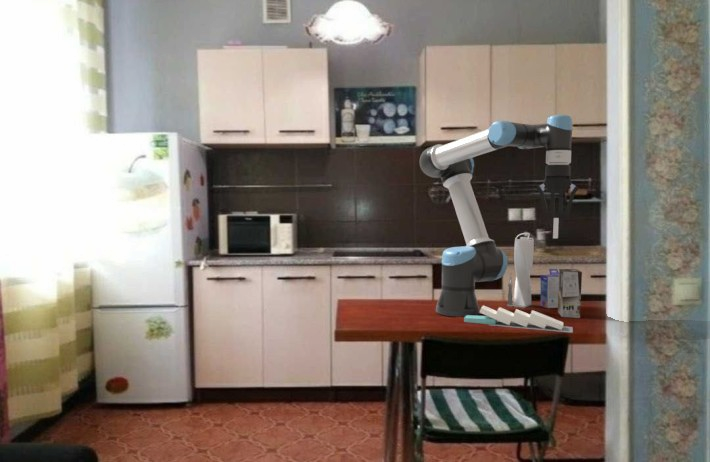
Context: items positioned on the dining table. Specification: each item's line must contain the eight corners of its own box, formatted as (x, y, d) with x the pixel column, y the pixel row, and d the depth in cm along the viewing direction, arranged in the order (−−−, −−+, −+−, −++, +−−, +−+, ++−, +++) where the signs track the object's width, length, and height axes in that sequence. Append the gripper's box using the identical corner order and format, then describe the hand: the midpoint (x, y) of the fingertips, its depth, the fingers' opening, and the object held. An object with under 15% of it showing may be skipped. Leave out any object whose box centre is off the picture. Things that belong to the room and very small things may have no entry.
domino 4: (561, 330, 168) (529, 317, 171) (561, 327, 173) (530, 314, 176) (563, 325, 168) (531, 312, 171) (563, 322, 173) (532, 310, 176)
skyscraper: (515, 302, 217) (517, 232, 216) (535, 305, 212) (537, 233, 210) (506, 305, 211) (508, 233, 209) (527, 308, 205) (529, 234, 204)
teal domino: (495, 324, 175) (464, 322, 179) (497, 321, 180) (466, 319, 184) (495, 319, 175) (463, 318, 179) (497, 316, 180) (466, 315, 183)
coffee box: (581, 318, 189) (582, 271, 188) (561, 317, 190) (562, 271, 189) (575, 313, 198) (577, 268, 197) (557, 312, 199) (558, 268, 198)
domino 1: (509, 325, 174) (479, 312, 177) (510, 322, 178) (481, 309, 182) (511, 320, 174) (481, 307, 177) (512, 317, 178) (483, 305, 181)
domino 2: (526, 327, 172) (495, 314, 175) (527, 324, 177) (497, 311, 180) (528, 322, 172) (497, 309, 175) (529, 319, 176) (499, 307, 179)
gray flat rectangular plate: (488, 326, 175) (488, 325, 175) (491, 321, 182) (491, 320, 182) (572, 333, 166) (572, 332, 166) (572, 328, 173) (572, 327, 173)
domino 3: (544, 329, 170) (513, 316, 173) (545, 325, 175) (514, 313, 178) (546, 324, 170) (514, 311, 173) (546, 321, 174) (516, 308, 178)
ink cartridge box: (561, 305, 214) (562, 268, 213) (570, 307, 208) (571, 269, 208) (538, 305, 211) (540, 268, 210) (547, 308, 206) (548, 270, 205)
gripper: (536, 164, 174) (533, 238, 175) (580, 163, 169) (577, 239, 171) (537, 165, 181) (534, 236, 182) (579, 165, 176) (577, 238, 178)
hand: (555, 238), depth 177 cm, fingers closed
